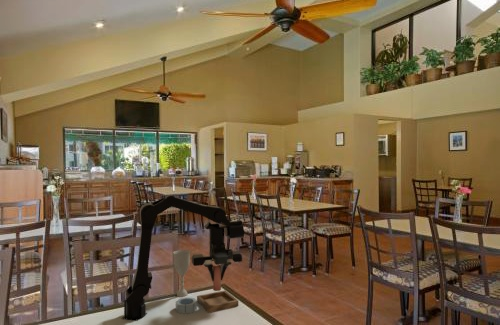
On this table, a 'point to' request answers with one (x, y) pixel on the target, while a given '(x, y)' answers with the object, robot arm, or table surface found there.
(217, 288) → the dowel
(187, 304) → the grey hex nut
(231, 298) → the tray
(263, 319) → the table surface
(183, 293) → the chalice
